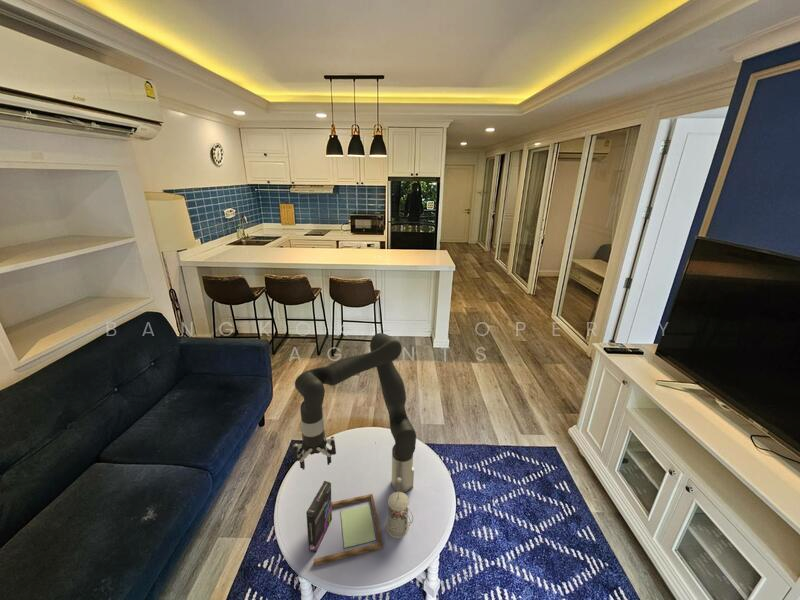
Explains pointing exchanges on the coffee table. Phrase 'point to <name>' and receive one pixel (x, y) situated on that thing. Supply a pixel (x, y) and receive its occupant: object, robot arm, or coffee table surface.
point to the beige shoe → (398, 514)
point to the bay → (355, 529)
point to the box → (319, 516)
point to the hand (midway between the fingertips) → (316, 465)
